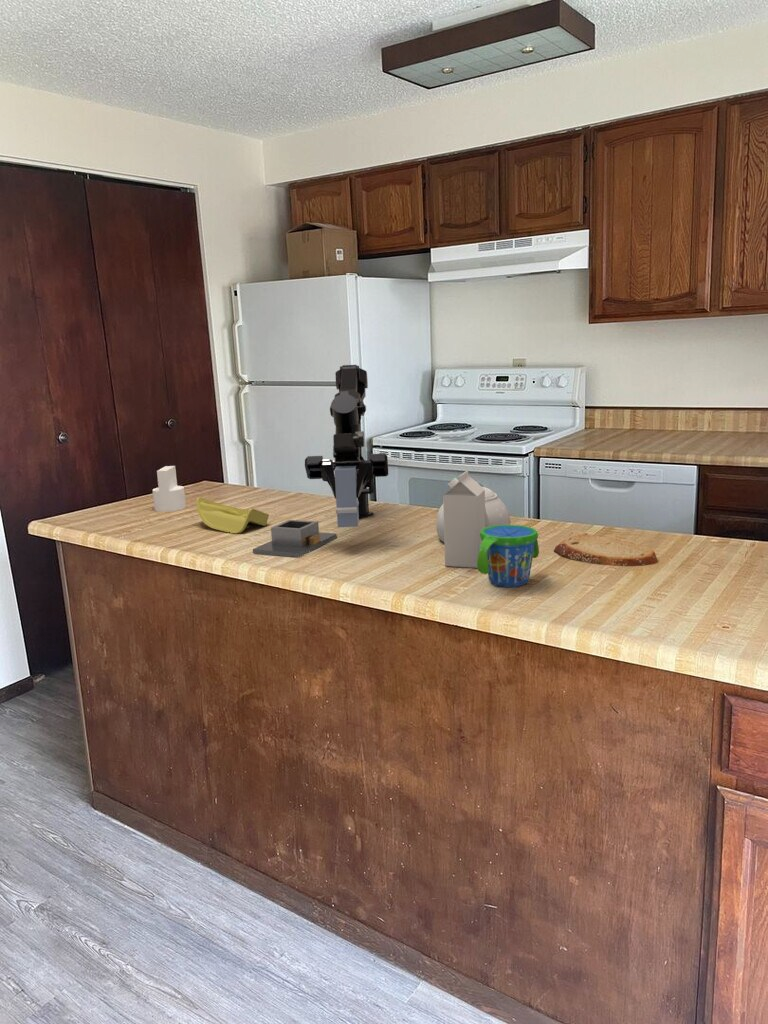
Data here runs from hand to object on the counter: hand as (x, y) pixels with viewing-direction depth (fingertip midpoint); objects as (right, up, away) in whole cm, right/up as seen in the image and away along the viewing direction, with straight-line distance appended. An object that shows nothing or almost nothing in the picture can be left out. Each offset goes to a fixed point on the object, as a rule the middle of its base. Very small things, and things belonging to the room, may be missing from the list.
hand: (346, 497), depth 173 cm
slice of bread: (+54, -13, -10) cm, 57 cm away
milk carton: (+25, -14, -11) cm, 31 cm away
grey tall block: (0, -6, +3) cm, 7 cm away
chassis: (-12, -11, +9) cm, 19 cm away
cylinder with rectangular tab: (-55, -2, +57) cm, 79 cm away
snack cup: (+32, -17, -25) cm, 44 cm away
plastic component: (-32, -7, +32) cm, 46 cm away
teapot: (+29, -10, +8) cm, 32 cm away
